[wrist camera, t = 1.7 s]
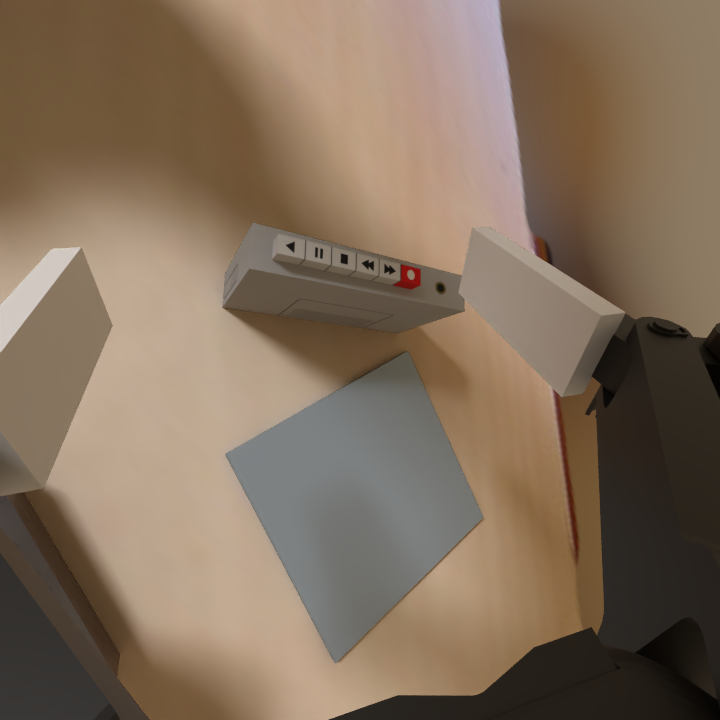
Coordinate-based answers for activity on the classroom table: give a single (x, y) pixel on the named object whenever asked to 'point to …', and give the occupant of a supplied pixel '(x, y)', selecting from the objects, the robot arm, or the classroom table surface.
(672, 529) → the robot arm
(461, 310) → the cassette player
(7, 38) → the classroom table surface
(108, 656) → the holder collar
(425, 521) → the rubber mat
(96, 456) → the classroom table surface
